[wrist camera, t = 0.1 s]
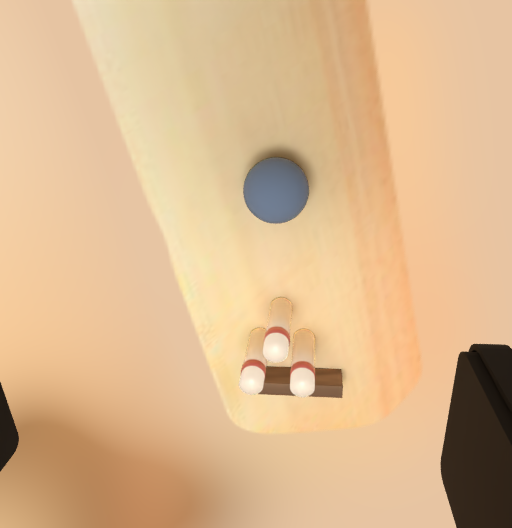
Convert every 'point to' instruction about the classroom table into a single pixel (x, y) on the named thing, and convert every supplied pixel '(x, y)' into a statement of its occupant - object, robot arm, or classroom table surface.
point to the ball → (276, 190)
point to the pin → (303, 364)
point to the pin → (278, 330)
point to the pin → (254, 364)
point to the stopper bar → (325, 382)
